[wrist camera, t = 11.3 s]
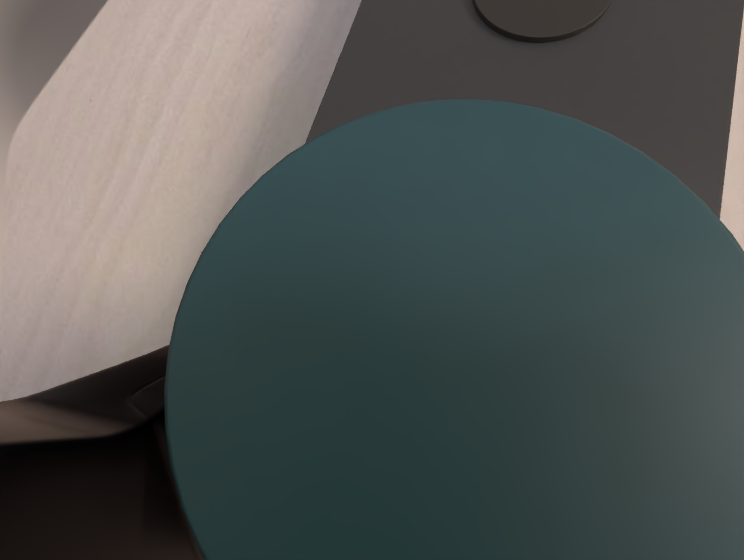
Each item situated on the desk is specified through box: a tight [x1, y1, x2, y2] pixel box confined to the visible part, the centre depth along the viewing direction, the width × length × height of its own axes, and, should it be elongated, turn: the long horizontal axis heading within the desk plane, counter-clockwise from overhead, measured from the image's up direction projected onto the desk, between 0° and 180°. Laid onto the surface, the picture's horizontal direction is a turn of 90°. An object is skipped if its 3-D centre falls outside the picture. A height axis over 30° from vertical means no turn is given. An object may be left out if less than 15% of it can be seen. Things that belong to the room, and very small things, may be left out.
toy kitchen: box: [305, 0, 744, 220], centre depth 20 cm, size 45×16×5 cm, turn 162°
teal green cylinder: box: [164, 99, 744, 560], centre depth 9 cm, size 5×5×12 cm
